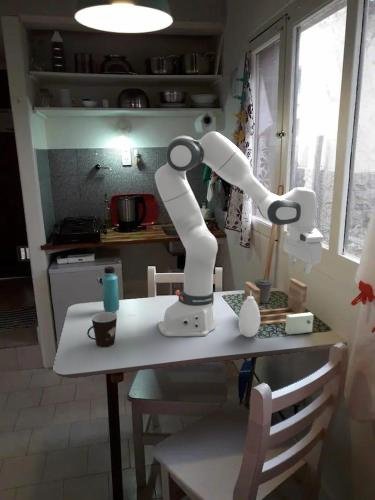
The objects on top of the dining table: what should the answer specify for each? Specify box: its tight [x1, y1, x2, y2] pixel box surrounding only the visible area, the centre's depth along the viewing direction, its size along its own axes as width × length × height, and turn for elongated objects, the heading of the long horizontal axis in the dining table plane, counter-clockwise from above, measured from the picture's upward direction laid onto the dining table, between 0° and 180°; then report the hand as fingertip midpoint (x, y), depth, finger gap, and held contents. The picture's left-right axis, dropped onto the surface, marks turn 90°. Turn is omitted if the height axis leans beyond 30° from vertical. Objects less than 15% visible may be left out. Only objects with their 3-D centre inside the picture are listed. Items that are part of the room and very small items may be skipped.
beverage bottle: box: [101, 266, 120, 313], centre depth 158 cm, size 6×7×20 cm
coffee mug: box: [86, 311, 118, 349], centre depth 132 cm, size 12×9×10 cm
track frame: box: [243, 278, 308, 326], centre depth 154 cm, size 22×10×15 cm, turn 104°
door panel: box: [284, 312, 315, 335], centre depth 143 cm, size 10×3×7 cm, turn 104°
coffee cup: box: [254, 278, 273, 304], centre depth 173 cm, size 8×8×10 cm
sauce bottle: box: [238, 292, 261, 338], centre depth 139 cm, size 8×8×18 cm
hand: (300, 269), depth 141 cm, fingers open, 8 cm apart
